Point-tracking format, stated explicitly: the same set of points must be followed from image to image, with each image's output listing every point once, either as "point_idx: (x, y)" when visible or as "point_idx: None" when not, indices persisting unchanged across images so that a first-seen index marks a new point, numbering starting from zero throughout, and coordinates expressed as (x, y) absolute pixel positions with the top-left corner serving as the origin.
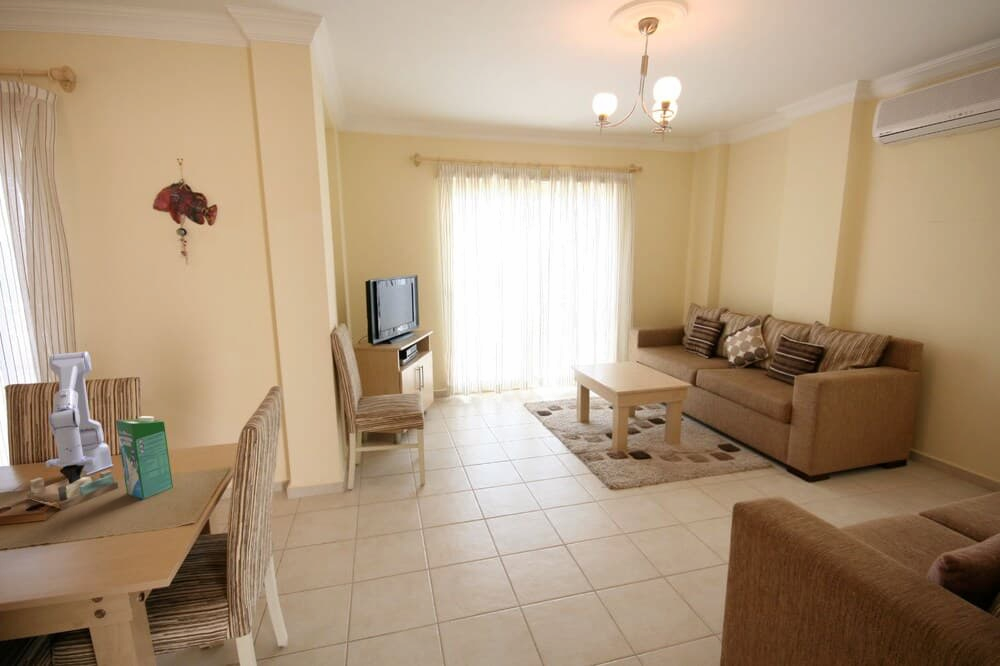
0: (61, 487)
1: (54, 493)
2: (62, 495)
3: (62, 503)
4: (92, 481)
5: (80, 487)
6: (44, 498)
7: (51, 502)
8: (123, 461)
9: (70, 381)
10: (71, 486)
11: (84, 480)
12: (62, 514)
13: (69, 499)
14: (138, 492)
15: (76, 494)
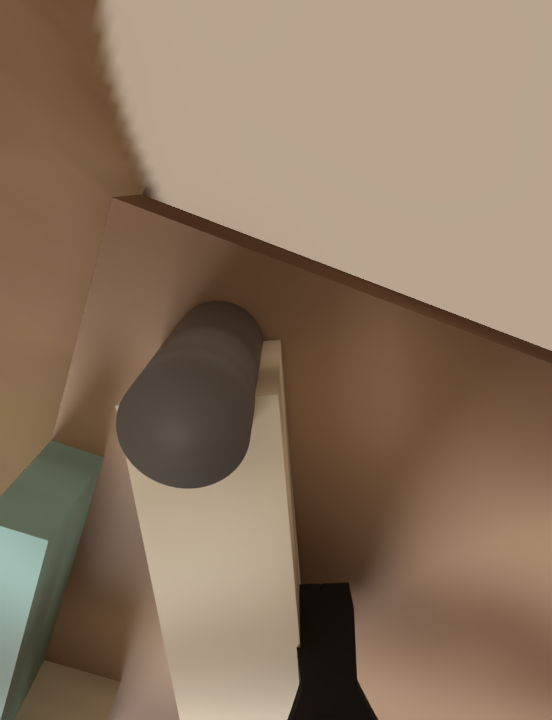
0: (182, 422)
1: (522, 496)
2: (174, 329)
3: (111, 219)
4: (8, 676)
5: (23, 520)
6: (547, 366)
7: (368, 290)
8: None
9: None
10: (177, 534)
11: (180, 706)
12: (3, 69)
13: (116, 328)
14: None
15: None
